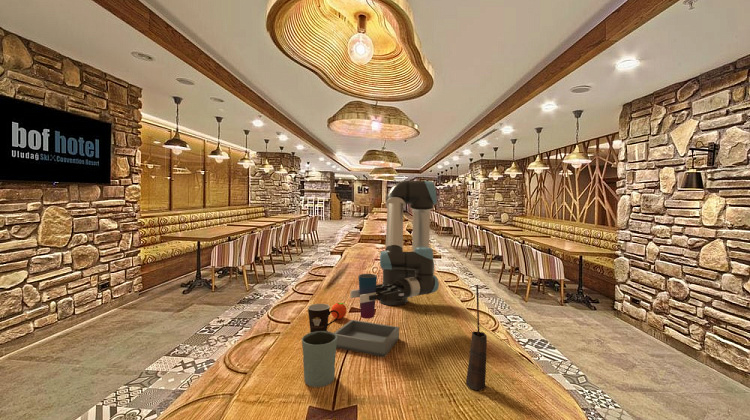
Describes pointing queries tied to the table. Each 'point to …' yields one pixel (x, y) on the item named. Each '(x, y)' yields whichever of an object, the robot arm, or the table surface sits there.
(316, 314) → the coffee mug
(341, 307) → the clementine
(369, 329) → the tray
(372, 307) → the cup
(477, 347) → the butter churn
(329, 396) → the table surface
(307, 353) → the grey ceramic tumbler
